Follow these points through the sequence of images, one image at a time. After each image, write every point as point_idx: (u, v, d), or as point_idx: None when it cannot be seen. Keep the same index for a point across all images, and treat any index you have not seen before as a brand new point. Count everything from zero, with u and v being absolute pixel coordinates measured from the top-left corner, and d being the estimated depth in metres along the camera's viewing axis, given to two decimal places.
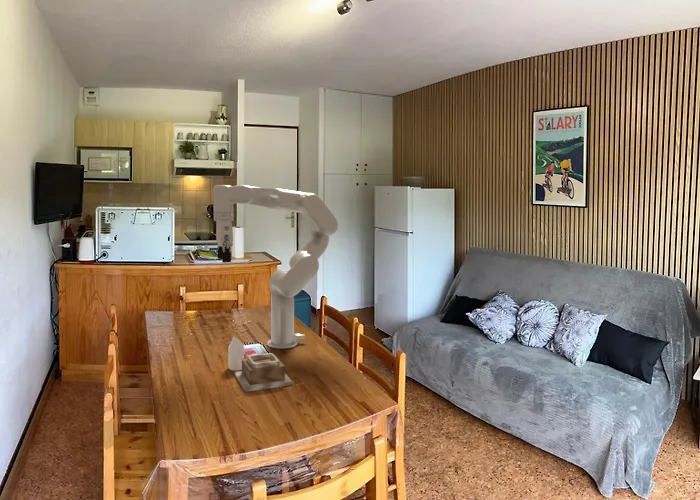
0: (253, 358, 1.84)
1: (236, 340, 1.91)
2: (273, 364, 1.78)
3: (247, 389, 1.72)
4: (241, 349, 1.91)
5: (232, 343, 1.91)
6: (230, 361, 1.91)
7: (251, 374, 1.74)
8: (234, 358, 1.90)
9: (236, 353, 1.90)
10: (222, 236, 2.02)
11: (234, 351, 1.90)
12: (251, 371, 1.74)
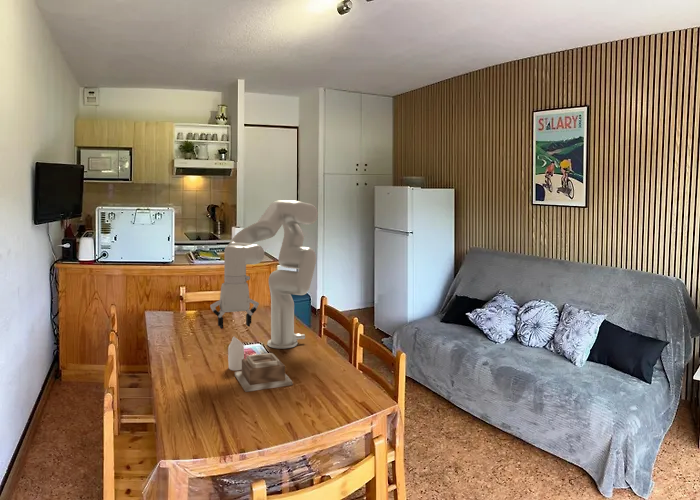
0: (253, 358, 1.84)
1: (236, 340, 1.91)
2: (273, 364, 1.78)
3: (247, 389, 1.72)
4: (241, 349, 1.91)
5: (232, 343, 1.91)
6: (230, 361, 1.91)
7: (251, 374, 1.74)
8: (234, 358, 1.90)
9: (236, 353, 1.90)
10: None
11: (234, 351, 1.90)
12: (251, 371, 1.74)
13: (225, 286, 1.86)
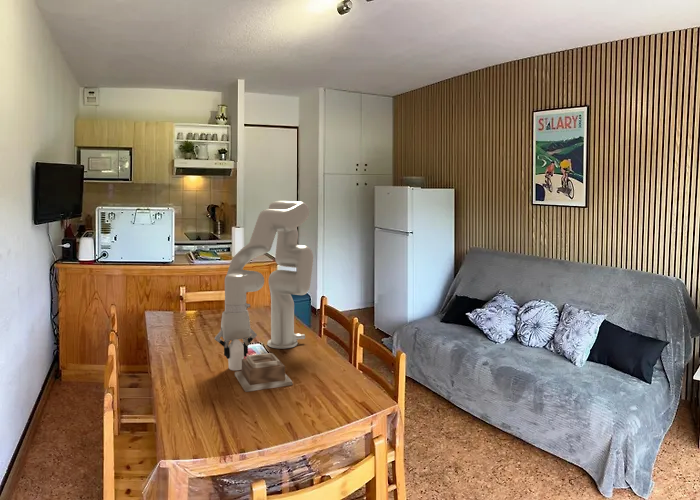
0: (253, 358, 1.84)
1: (236, 340, 1.91)
2: (273, 364, 1.78)
3: (247, 389, 1.72)
4: (241, 349, 1.91)
5: (232, 343, 1.91)
6: (230, 361, 1.91)
7: (251, 374, 1.74)
8: (234, 358, 1.90)
9: (236, 353, 1.90)
10: None
11: (234, 351, 1.90)
12: (251, 371, 1.74)
13: (226, 315, 1.88)
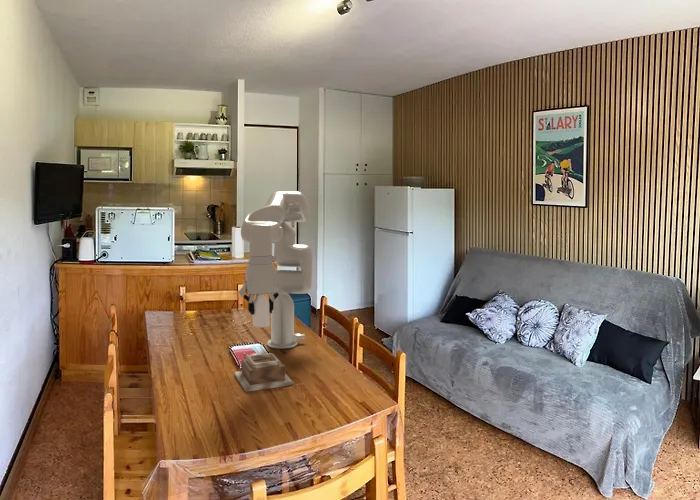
0: (253, 358, 1.84)
1: (261, 295, 1.78)
2: (273, 364, 1.78)
3: (247, 389, 1.72)
4: (266, 304, 1.78)
5: (257, 298, 1.78)
6: (255, 318, 1.78)
7: (251, 374, 1.74)
8: (259, 314, 1.77)
9: (261, 309, 1.77)
10: (276, 281, 1.79)
11: (259, 307, 1.77)
12: (251, 371, 1.74)
13: (251, 267, 1.75)
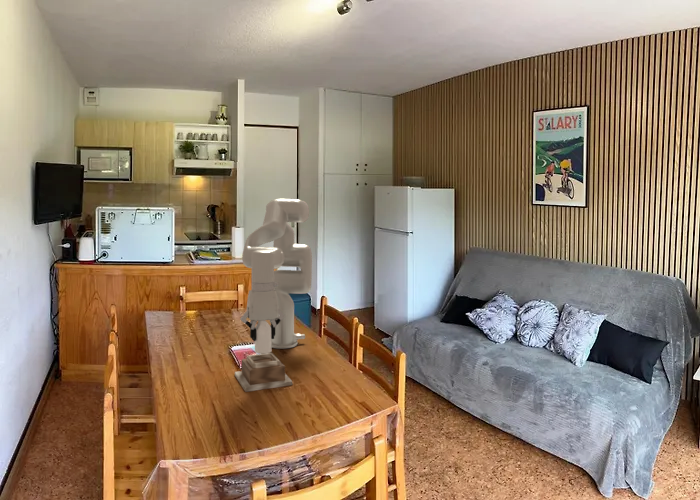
0: (253, 358, 1.84)
1: (263, 321, 1.79)
2: (273, 364, 1.78)
3: (247, 389, 1.72)
4: (268, 331, 1.78)
5: (259, 324, 1.79)
6: (257, 344, 1.78)
7: (251, 374, 1.74)
8: (261, 340, 1.78)
9: (263, 335, 1.78)
10: (278, 307, 1.80)
11: (261, 333, 1.77)
12: (251, 371, 1.74)
13: (253, 294, 1.75)
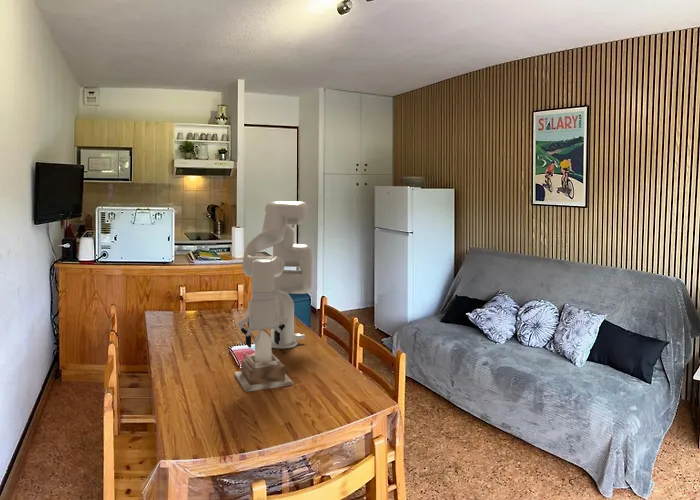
0: (253, 358, 1.84)
1: (263, 332, 1.79)
2: (273, 364, 1.78)
3: (247, 389, 1.72)
4: (269, 342, 1.79)
5: (259, 336, 1.80)
6: (257, 355, 1.79)
7: (251, 374, 1.74)
8: (261, 351, 1.79)
9: (263, 346, 1.78)
10: (278, 316, 1.80)
11: (261, 345, 1.78)
12: (251, 371, 1.74)
13: (253, 303, 1.76)
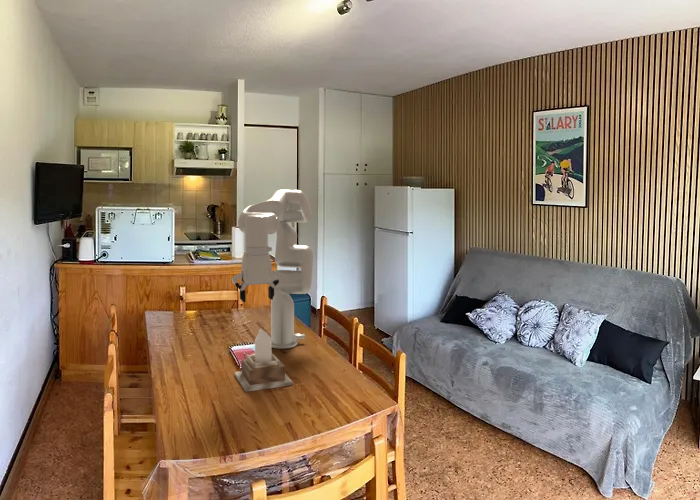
0: (253, 358, 1.84)
1: (263, 332, 1.79)
2: (273, 364, 1.78)
3: (247, 389, 1.72)
4: (269, 342, 1.79)
5: (259, 336, 1.80)
6: (257, 355, 1.79)
7: (251, 374, 1.74)
8: (261, 351, 1.79)
9: (263, 346, 1.78)
10: (271, 271, 1.82)
11: (261, 345, 1.78)
12: (251, 371, 1.74)
13: (247, 258, 1.78)
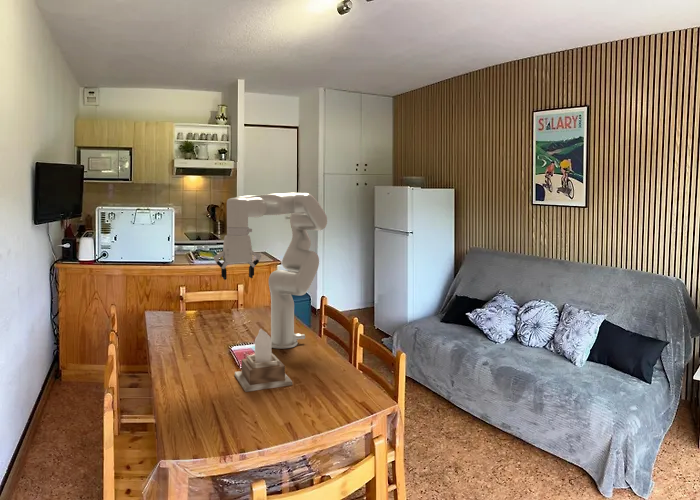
0: (253, 358, 1.84)
1: (263, 332, 1.79)
2: (273, 364, 1.78)
3: (247, 389, 1.72)
4: (269, 342, 1.79)
5: (259, 336, 1.80)
6: (257, 355, 1.79)
7: (251, 374, 1.74)
8: (261, 351, 1.79)
9: (263, 346, 1.78)
10: (251, 251, 1.94)
11: (261, 345, 1.78)
12: (251, 371, 1.74)
13: (228, 238, 1.90)
